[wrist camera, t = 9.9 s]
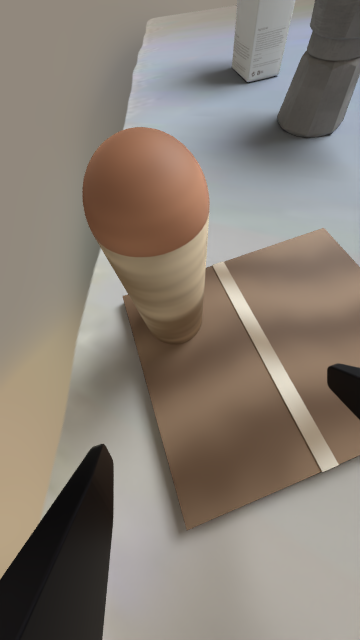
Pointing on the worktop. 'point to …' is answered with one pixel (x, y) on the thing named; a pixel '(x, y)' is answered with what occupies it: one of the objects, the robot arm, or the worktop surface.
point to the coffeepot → (324, 71)
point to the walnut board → (257, 376)
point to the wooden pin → (152, 226)
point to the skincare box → (260, 37)
